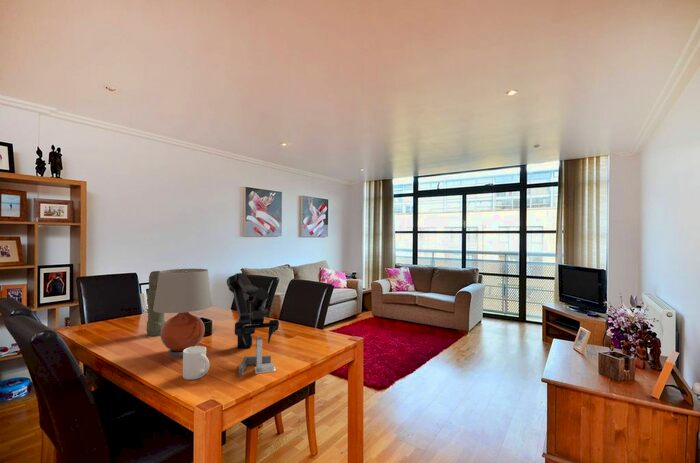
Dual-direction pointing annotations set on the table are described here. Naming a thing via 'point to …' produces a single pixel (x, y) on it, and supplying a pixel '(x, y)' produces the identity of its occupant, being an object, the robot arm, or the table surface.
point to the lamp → (182, 307)
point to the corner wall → (252, 362)
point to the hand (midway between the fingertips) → (257, 344)
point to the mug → (195, 362)
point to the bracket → (259, 365)
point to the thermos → (154, 318)
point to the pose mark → (265, 371)
